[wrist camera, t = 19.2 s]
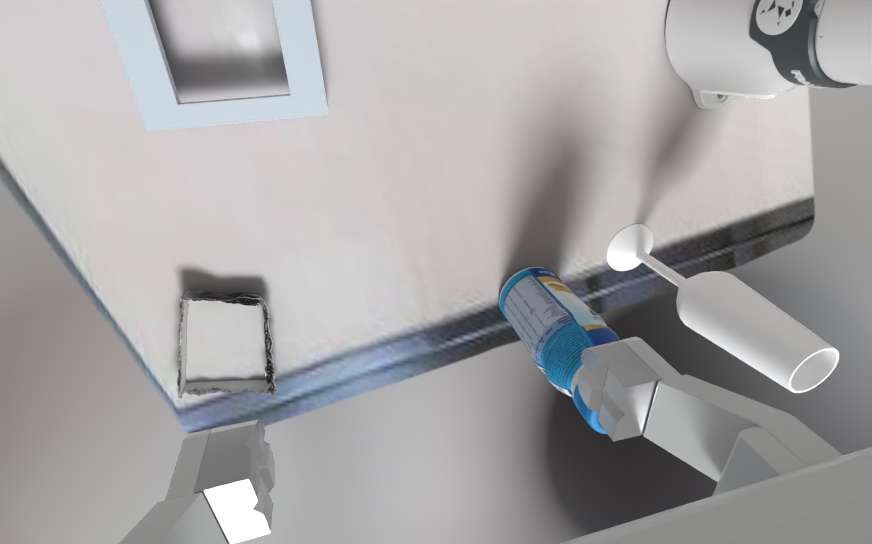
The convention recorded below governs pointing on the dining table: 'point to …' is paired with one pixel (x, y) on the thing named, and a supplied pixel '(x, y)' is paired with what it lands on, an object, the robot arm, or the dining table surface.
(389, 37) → the dining table surface
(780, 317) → the champagne flute
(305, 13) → the keyhole plate
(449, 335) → the dining table surface
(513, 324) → the beverage bottle
